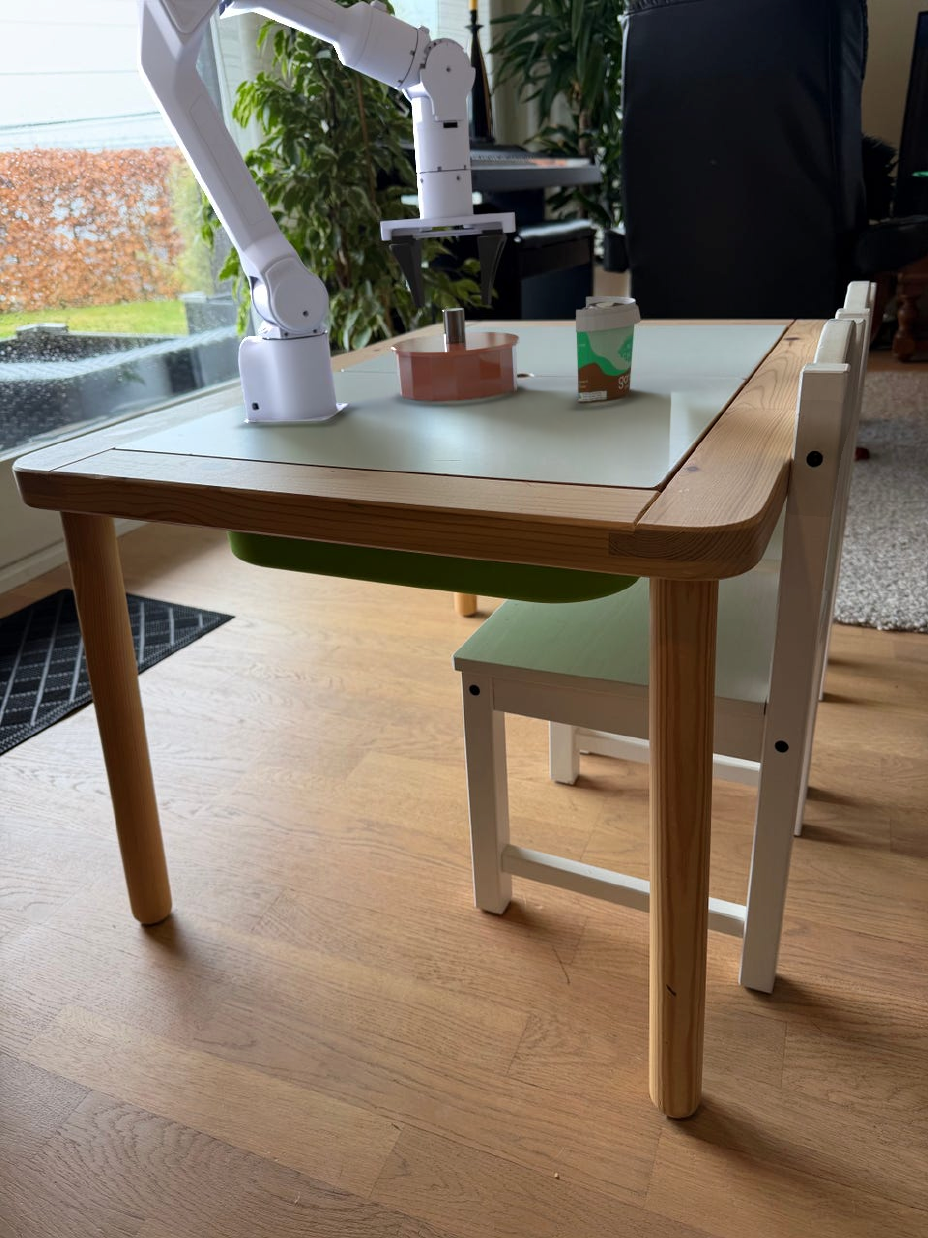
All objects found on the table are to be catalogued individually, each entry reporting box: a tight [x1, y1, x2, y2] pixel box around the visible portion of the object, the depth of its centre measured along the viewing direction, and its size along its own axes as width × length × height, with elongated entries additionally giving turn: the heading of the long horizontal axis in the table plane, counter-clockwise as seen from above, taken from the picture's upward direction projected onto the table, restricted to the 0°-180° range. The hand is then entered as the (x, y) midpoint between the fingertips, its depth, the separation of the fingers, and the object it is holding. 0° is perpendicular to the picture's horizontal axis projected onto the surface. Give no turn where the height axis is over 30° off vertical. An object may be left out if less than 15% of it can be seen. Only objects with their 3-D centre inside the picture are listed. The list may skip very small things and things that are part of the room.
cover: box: [391, 307, 520, 357], centre depth 108 cm, size 15×15×5 cm
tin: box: [395, 345, 519, 402], centre depth 110 cm, size 14×14×5 cm
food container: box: [575, 295, 641, 404], centre depth 100 cm, size 12×6×10 cm, turn 168°
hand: (453, 305), depth 106 cm, fingers open, 7 cm apart
